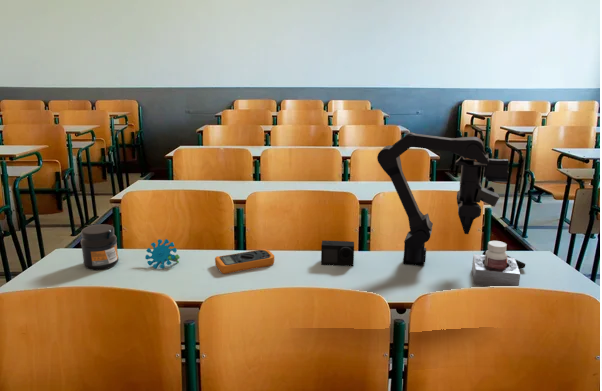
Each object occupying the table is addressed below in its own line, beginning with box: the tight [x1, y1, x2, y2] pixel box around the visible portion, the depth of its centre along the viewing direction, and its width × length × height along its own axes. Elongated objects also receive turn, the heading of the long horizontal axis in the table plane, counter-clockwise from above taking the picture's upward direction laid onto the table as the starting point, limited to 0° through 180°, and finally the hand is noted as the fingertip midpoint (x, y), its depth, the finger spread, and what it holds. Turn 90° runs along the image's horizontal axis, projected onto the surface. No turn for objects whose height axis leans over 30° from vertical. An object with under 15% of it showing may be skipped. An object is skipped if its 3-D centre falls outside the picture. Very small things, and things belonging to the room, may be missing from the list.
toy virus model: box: [145, 238, 181, 269], centre depth 164 cm, size 11×6×10 cm
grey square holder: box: [471, 253, 521, 287], centre depth 153 cm, size 12×12×5 cm
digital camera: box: [320, 240, 355, 267], centre depth 164 cm, size 10×5×7 cm, turn 85°
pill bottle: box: [484, 240, 508, 269], centre depth 152 cm, size 6×6×11 cm
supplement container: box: [80, 223, 119, 271], centre depth 162 cm, size 10×10×12 cm
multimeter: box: [214, 248, 275, 275], centre depth 163 cm, size 9×18×3 cm, turn 114°
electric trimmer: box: [481, 247, 526, 270], centre depth 166 cm, size 4×16×3 cm, turn 27°
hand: (465, 228), depth 158 cm, fingers open, 9 cm apart
